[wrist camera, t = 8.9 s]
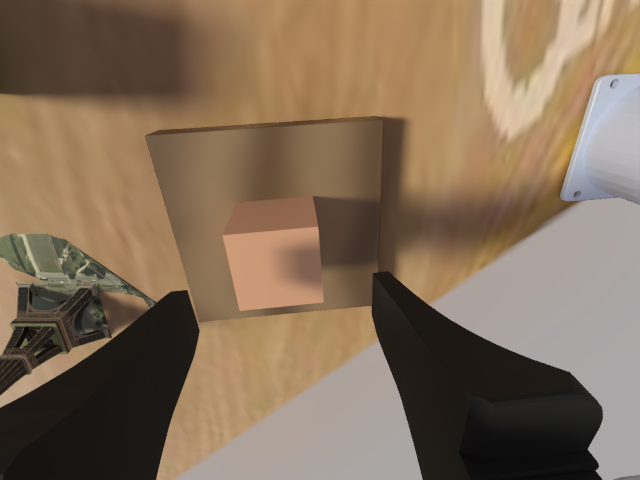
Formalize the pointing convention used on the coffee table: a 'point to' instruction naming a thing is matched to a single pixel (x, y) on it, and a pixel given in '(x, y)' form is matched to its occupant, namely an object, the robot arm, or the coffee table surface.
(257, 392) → the coffee table surface
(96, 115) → the coffee table surface
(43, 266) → the eiffel tower figurine
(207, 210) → the walnut base
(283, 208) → the terracotta block
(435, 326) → the robot arm
